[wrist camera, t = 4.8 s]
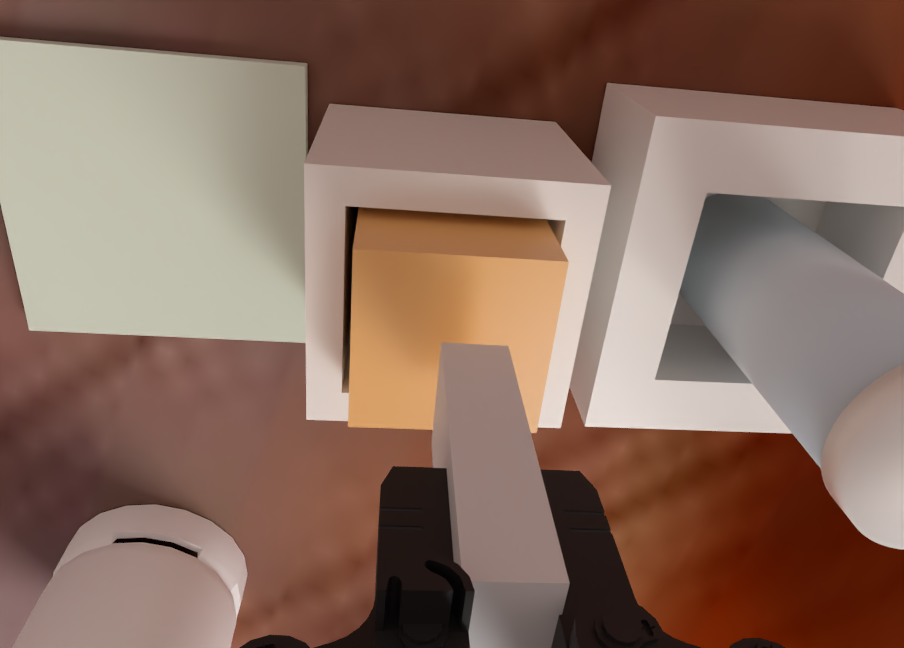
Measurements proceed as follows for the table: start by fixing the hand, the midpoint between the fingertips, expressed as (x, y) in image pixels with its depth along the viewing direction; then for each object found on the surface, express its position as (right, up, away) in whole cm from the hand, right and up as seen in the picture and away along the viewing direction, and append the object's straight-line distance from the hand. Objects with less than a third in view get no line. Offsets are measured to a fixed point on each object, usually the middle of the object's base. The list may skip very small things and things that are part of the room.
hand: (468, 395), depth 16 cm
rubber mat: (-10, +6, +8) cm, 14 cm away
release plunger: (-1, +5, +8) cm, 10 cm away
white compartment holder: (+5, +5, +10) cm, 12 cm away
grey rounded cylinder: (+10, +4, +9) cm, 14 cm away
